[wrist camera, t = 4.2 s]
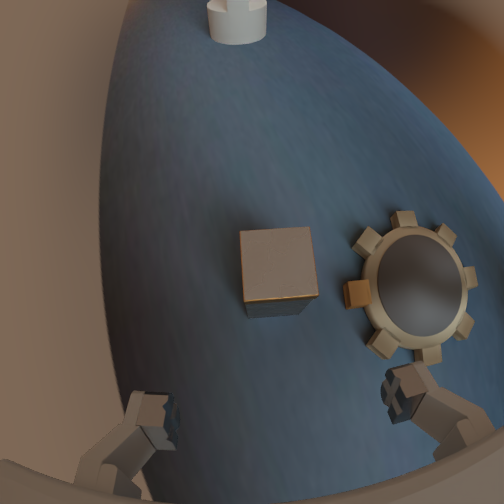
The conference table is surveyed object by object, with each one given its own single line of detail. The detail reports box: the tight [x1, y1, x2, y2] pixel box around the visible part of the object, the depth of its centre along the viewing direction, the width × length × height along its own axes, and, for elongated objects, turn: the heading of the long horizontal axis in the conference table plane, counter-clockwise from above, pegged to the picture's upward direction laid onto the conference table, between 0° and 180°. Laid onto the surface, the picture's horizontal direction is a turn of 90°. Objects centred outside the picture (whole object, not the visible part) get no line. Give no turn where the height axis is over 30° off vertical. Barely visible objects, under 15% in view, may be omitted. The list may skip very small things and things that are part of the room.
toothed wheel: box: [343, 211, 478, 366], centre depth 23 cm, size 14×14×2 cm
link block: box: [240, 227, 319, 319], centre depth 20 cm, size 4×4×8 cm
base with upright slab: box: [207, 0, 267, 45], centre depth 32 cm, size 9×9×12 cm
